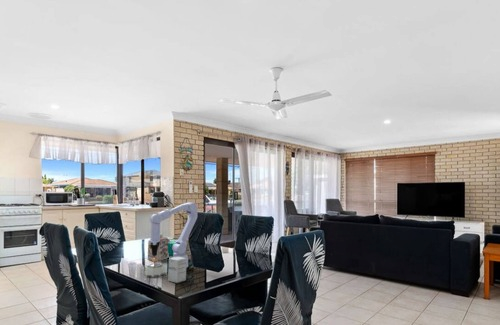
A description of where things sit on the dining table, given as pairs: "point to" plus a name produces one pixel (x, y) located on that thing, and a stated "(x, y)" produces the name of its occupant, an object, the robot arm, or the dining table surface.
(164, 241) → the decorative jar
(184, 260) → the supplement box
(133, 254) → the dining table surface
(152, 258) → the copper-knobbed silver dome
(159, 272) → the octagonal hollow frame
